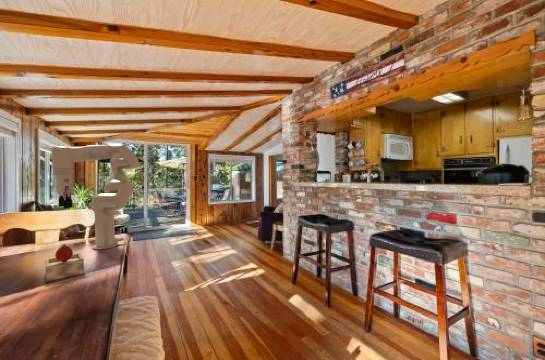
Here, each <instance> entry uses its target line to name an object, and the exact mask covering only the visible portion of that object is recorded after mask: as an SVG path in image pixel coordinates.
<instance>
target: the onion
mask: <svg viewBox="0 0 545 360" xmlns="http://www.w3.org/2000/svg"><path fill="white" fill-rule="evenodd" d="M73 254H74V251H73V249H72V247H70V246H68V245H66V243H64V244H63V245H61V246H60V247H59V248H58V249H57V250H56V252H55V255H54V256H55V257H56V259H57V260H59V261H61V262H67V261H68V260H69V259H70V258H71V257H72V255H73Z"/></svg>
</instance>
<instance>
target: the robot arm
mask: <svg viewBox="0 0 545 360" xmlns="http://www.w3.org/2000/svg"><path fill="white" fill-rule="evenodd" d="M107 159H110V160H109V161H110V167H111V176H110V177H109V179H108V180H107V182H106V184H105V185H104V187H103V192H104V193H98V194H96V195H94V196H93V198H92V199H91V201H92V202H91V203H92V205H91V206H92V208H93V213H94V231H95V234H94V235H95V236H94V237H95V238H94V239H95V244H94V245H92V246H91V247H92V250H106V249H112V248H115V247H117V246H118V245H119V242H123V241H124V240H125V238H124V237H116V235H115V232H116V231H115V229H116V228H115V215H114V213H113V210H116V211H117V210H121V209H122V210H123V208H124V207H126V205H127V203H128V201H129V200H130V198H131V196H132V194H133V191H134V185H133V183H132V182H131V181H130V180H127V175H126V172H124V170H125V169H128V170H129V169H133V170H134V169H136V168H138V166H139V159H138V157H137V156H136V155H135V154H134V152H133V151H132V150H131V149H130V148H129V147H128V146H127V145H125V144H119V143H118V144H117V143H116V144H115V143H114V144H95V145H93V144H92V145H86V146H83V145H82V146H71V147H69V146H59V145H58V146H52V147H51V161H52V163H51V164H52V175H53V176H55V181H56V182H55V183H56V184H55V185H56V193H57V195H58V197H57V199H58V207H60V208H61V207H63V209H72V208H73V198H72V196H74V195H75V190H74V189H75V188H74V181H73V180H74V179H73V176H74V165H73V164H74V163H82V162H86V161H100V160H101V161H102V160H107Z"/></svg>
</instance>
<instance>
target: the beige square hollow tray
mask: <svg viewBox="0 0 545 360" xmlns="http://www.w3.org/2000/svg"><path fill="white" fill-rule="evenodd" d="M82 255H83V254H81V252H78V253H73V255H72V257H71V258H70V259H69V260H68V261H67V262H61V261H59V260H57V259H56V256H55V257H51V258H45V260H44V261H45V262H44V263H45V265H44V267H45V282H50V281H54V280H59V279H64V278H67V277H72V276H76V275H81V274H82V275H83V274H84V273H85V265H84V263H85V262H84V261H85V260H84V257H83V256H82Z"/></svg>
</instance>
